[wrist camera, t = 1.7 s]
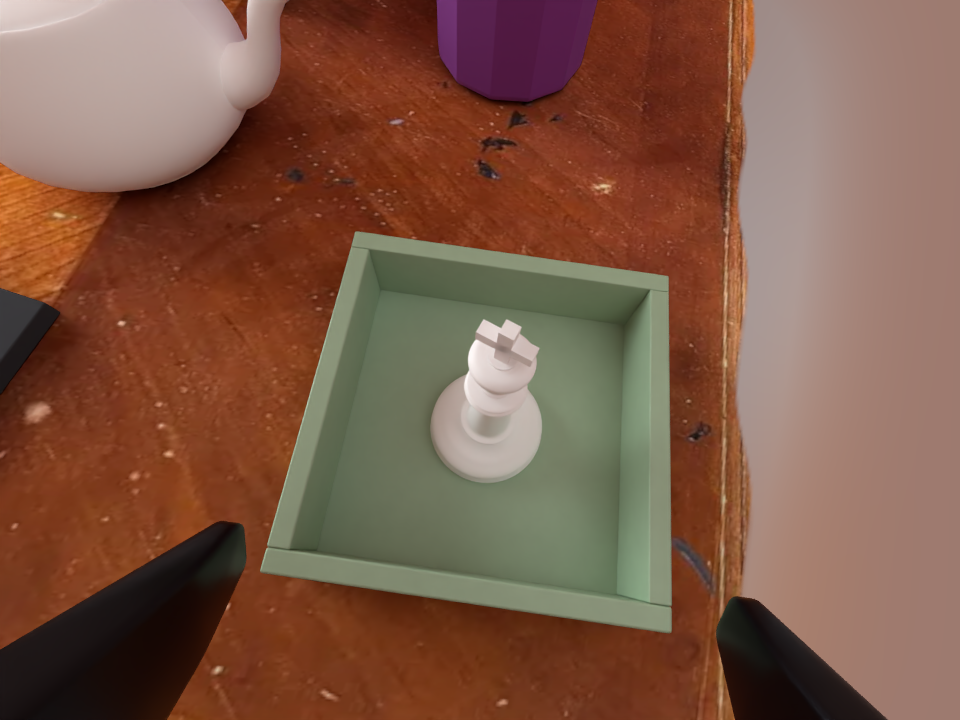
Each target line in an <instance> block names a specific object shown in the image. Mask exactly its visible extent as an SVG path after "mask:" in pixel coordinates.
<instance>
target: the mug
mask: <svg viewBox="0 0 960 720" xmlns="http://www.w3.org/2000/svg"><path fill="white" fill-rule="evenodd" d="M596 4H597V0H437V22H438V45H439V55H440V57H441V59H442V61H443V62H444V64H445V65H446V67H447V68H448V70H449V71H450V73H451V74H452V76H453V77H454V79H455V80H456V81H457V83H459V84H461V85H463V86H465V87H467V88H469V89H471V90H473V91H475V92H477V93H479V94H481V95H483V96H485V97H487V98H489V99H492V100H507V101H522V102H529V101H531V100H534V99H537V98H540V97H543V96H545V95H548V94H551V93H554V92H557V91H559V90H562V88H563V87H564V86H565V85H566V83H567V82H568V81H569V80H570V78H571V77H572V76H573V75H574V73H575V72H576V71H577V70H578V68H579V67H580V65H581V62H582V59H583V55H584V51H585V47H586V43H587V39H588V35H589V31H590V28H591V24H592V20H593V16H594V12H595V8H596Z"/></svg>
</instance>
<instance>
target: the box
mask: <svg viewBox="0 0 960 720" xmlns="http://www.w3.org/2000/svg"><path fill="white" fill-rule="evenodd" d="M668 292H669V279H668V276H663V275H656V274H650V273H643V272H636V271H629V270H622V269H615V268H608V267H601V266H594V265H587V264H580V263H573V262H566V261H559V260H552V259H545V258H538V257H531V256H524V255H517V254H510V253H503V252H496V251H490V250H483V249H476V248H469V247H462V246H455V245H448V244H441V243H434V242H427V241H420V240H413V239H406V238H399V237H392V236H385V235H378V234H371V233H364V232H357V231H356V232H355V235H354V238H353V242H352V248H351V250H350V253H349V257H348V260H347V264H346V268H345V271H344V275H343V278H342V282H341V285H340V289H339V292H338V296H337V299H336V303H335V306H334V310H333V314H332V317H331V321H330V324H329V328H328V331H327V335H326V338H325V342H324V345H323V349H322V352H321V356H320V360H319V363H318V367H317V370H316V374H315V377H314V381H313V384H312V388H311V391H310V395H309V398H308V402H307V406H306V409H305V413H304V416H303V420H302V423H301V427H300V430H299V434H298V437H297V441H296V445H295V448H294V452H293V455H292V459H291V462H290V466H289V469H288V473H287V476H286V480H285V483H284V487H283V491H282V494H281V498H280V501H279V505H278V508H277V512H276V515H275V519H274V522H273V526H272V529H271V533H270V537H269V540H268V544H267V546H268V548H267V549H266V551H265V555H264V558H263V562H262V566H261V569H260V571H261V572H262V573H266V574H272V575H279V576H286V577H293V578H299V579H306V580H313V581H320V582H326V583H333V584H340V585H346V586H353V587H360V588H367V589H373V590H380V591H387V592H394V593H400V594H407V595H414V596H420V597H427V598H434V599H441V600H447V601H454V602H461V603H468V604H474V605H481V606H488V607H494V608H501V609H508V610H515V611H521V612H528V613H535V614H542V615H548V616H555V617H562V618H569V619H575V620H582V621H589V622H595V623H602V624H609V625H616V626H622V627H629V628H636V629H643V630H649V631H656V632H663V633H671V631H672V610H671V607H669V606H672V572H671V478H670V384H669V293H668ZM483 319H484V320H486V321H488V322H490V323H492V324H494V325H496V326H498V327H500V328H502V326H503V324H504V323H505V321H506V319H507V320H509V321H511V322H513V323H515V324H517V325H519V326H521V327H522V328H521V331H520V334H521V335H522V336H524V337H525V338H526V339H527V340H528V341H529V342H530V343H531V344H533V345H535V346H537V347H539V348H540V349H539V351H538V354H537V356H536V359H537V366H536V371H535V374H534V376H533V378H532V379H531V381H530V382H529V383H528V384H527V386H528V390H529V391H530V393H531V394H532V395H533V397H534V399H535V400H536V402H537V404H538V407H539V410H540V413H541V419H542V434H541V441H540V445H539V448H538V450H537V452H536V454H535V456H534V458H533V459H532V461H531V462H530V463H529V464H528V465H527V467H526V468H524V469H523V470H522V471H521V472H520V473H518V474H517V475H515V476H513V477H511V478H509V479H507V480H504V481H500V482H495V483H479V482H474V481H470V480H467V479H465V478H462V477H460V476H459V475H457V474H455V473H454V472H453V471H451V470H450V469H449V468H448V467H447V466H446V465H445V464H444V463H443V462H442V460H441V459H440V458H439V456H438V454H437V453H436V451H435V448H434V446H433V443H432V439H431V432H430V423H431V416H432V412H433V409H434V407H435V404H436V402H437V400H438V398H439V396H440V395H441V393H442V392H443V391H444V390H445V388H446V387H447V386H448V385H450V384H451V383H452V382H453V381H455V380H456V379H458V378H460V377H462V376H464V375H466V374H467V373H468V371H469V366H468V355H469V351H470V348H471V346H472V344H473V343H474V341H475V340H476V339H475V335H476V331H477V329H478V327H479V326H480V324H481V323H482V321H483Z"/></svg>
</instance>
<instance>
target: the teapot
mask: <svg viewBox="0 0 960 720" xmlns="http://www.w3.org/2000/svg"><path fill="white" fill-rule="evenodd" d="M288 1H289V0H248V5H247V39H246V40H244V37H243V35H242V33H241V30H240V28H239V26H238V24H237V23H236V21H235V19H234V18H233V16H232V14H231V13H230V11H229V10H228V9H227V7H226V6H225V5H224V3H223V2H222V0H0V163H2V164H3V165H5V166H6V167H8V168H10V169H11V170H13V171H14V172H16V173H17V174H20V175H23V176H25V177H28V178H31V179H33V180H36V181H39V182H41V183H44V184H47V185H50V186H54V187H60V188H65V189H71V190H77V191H83V192H122V191H129V190H139V189H146V188H153V187H156V186H160V185H163V184H167V183H170V182H173V181H175V180H178V179H180V178H182V177H184V176H187V175H189V174H191V173H192V172H194V171H195V170H197V169H198V168H200V167H202V166H203V165H205V164H206V163H207V162H208V161H209V160H210V159H211V158H213V157H214V156H215V155H216V154H217V153H218V152H219V151H220V149H221V148H222V147H223V146H224V145H225V144H226V143H227V141H228V140H229V139H230V137H231V136H232V135H233V134H234V132H235V131H236V130H237V128H238V127H239V125H240V123H241V121H242V118H243V116H244V114H245V112H246V110H247V109H250V108H252V107H254V106H256V105H257V104H259V103H260V102H261V101H263V100H264V99H266V98H267V97H268V96H269V95H270V93H271V92H272V90H273V88H274V85H275V83H276V81H277V78H278V76H279V72H280V65H281V41H280V16H281V13H282V11H283V8H284V6H285V3H286V2H288Z"/></svg>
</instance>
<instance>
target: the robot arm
mask: <svg viewBox="0 0 960 720" xmlns="http://www.w3.org/2000/svg"><path fill="white" fill-rule="evenodd" d="M245 564H246V545H245V533H244V527H243V525H242V524H240V523H234V522H228V521H219V522H216V523H214V524H212V525H211V526H209V527H207V528H206V529H204V530H202V531H201V532H199V533H197V534H195V535H194V536H192V537H190V538H189V539H187V540H185V541H184V542H182V543H180V544H179V545H177V546H175V547H173V548H172V549H170V550H168V551H167V552H165V553H163V554H162V555H160V556H158V557H156V558H155V559H153V560H151V561H150V562H148V563H146V564H145V565H143V566H141V567H140V568H138V569H136V570H134V571H133V572H131V573H129V574H128V575H126V576H124V577H123V578H121V579H119V580H117V581H116V582H114V583H112V584H111V585H109V586H107V587H106V588H104V589H102V590H101V591H99V592H97V593H95V594H94V595H92V596H90V597H89V598H87V599H85V600H84V601H82V602H80V603H78V604H77V605H75V606H73V607H72V608H70V609H68V610H67V611H65V612H63V613H62V614H60V615H58V616H56V617H55V618H53V619H51V620H50V621H48V622H46V623H45V624H43V625H41V626H39V627H38V628H36V629H34V630H33V631H31V632H29V633H28V634H26V635H24V636H22V637H21V638H19V639H17V640H16V641H14V642H12V643H11V644H9V645H7V646H6V647H4V648H2V649H0V720H167V718H168V717H169V715H170V713H171V711H172V710H173V708H174V706H175V705H176V703H177V701H178V699H179V698H180V696H181V694H182V693H183V691H184V689H185V687H186V686H187V684H188V682H189V681H190V679H191V677H192V675H193V674H194V672H195V670H196V668H197V667H198V665H199V663H200V661H201V659H202V658H203V656H204V654H205V652H206V650H207V648H208V646H209V644H210V642H211V640H212V637H213V635H214V633H215V631H216V629H217V627H218V624H219V622H220V620H221V618H222V616H223V614H224V611H225V609H226V607H227V605H228V603H229V601H230V598H231V596H232V594H233V592H234V590H235V588H236V585H237V583H238V581H239V579H240V577H241V575H242V572H243V570H244V567H245ZM716 637H717V644H718V648H719V652H720V657H721V661H722V665H723V670H724V674H725V678H726V683H727V687H728V691H729V696H730V700H731V704H732V709H733V713H734V718H735V720H887V719H886V718H885V717H884V716H883V715H882V714H881V713H880V712H879V711H877V709H875V708H874V707H873V706H872V705H871V704H870V703H869V702H868V701H867V700H866V699H865V698H864V697H863V696H861V695H860V694H859V693H858V692H857V691H856V690H855V689H854V688H853V687H852V686H851V685H849V684H848V683H847V682H846V681H845V680H844V679H843V678H842V677H841V676H840V675H839V674H837V673H836V672H835V671H834V670H833V669H832V668H831V667H830V666H829V665H828V664H827V663H826V662H824V661H823V660H822V659H821V658H820V657H819V656H818V655H817V654H816V653H815V652H814V651H813V650H811V649H810V648H809V647H808V646H807V645H806V644H805V643H804V642H803V641H802V640H800V639H799V638H798V637H797V636H796V635H795V634H794V633H793V632H792V631H791V630H790V629H789V628H788V627H786V626H785V625H784V624H783V623H782V622H781V621H780V620H779V619H778V618H776V616H775V615H773V614H772V613H771V612H770V611H769V610H768V609H767V608H766V607H765V606H764V605H762V604H761V603H760V602H759V601H757V600H755V599H751V598H745V597H738V596H735V597H732V598H731V599H730V600H729V602H728V604H727V606H726V608H725V611H724V613H723V615H722V617H721V619H720V621H719V623H718V626H717V630H716Z"/></svg>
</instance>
